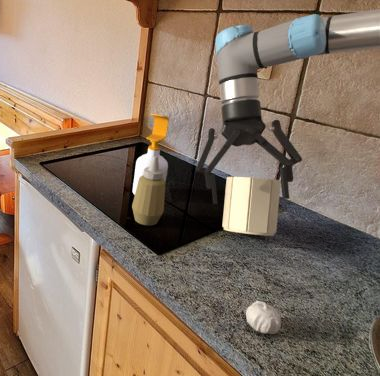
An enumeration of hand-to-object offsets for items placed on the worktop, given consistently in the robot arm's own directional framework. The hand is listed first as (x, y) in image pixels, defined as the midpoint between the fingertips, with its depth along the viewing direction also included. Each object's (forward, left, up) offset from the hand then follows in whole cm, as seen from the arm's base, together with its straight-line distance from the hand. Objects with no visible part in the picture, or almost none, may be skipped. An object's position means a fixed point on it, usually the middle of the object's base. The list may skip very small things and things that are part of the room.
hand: (249, 201), depth 86 cm
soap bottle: (+28, -20, -14) cm, 37 cm away
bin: (-1, -9, -12) cm, 15 cm away
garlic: (-7, +22, -14) cm, 27 cm away
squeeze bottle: (+23, -4, -14) cm, 27 cm away
